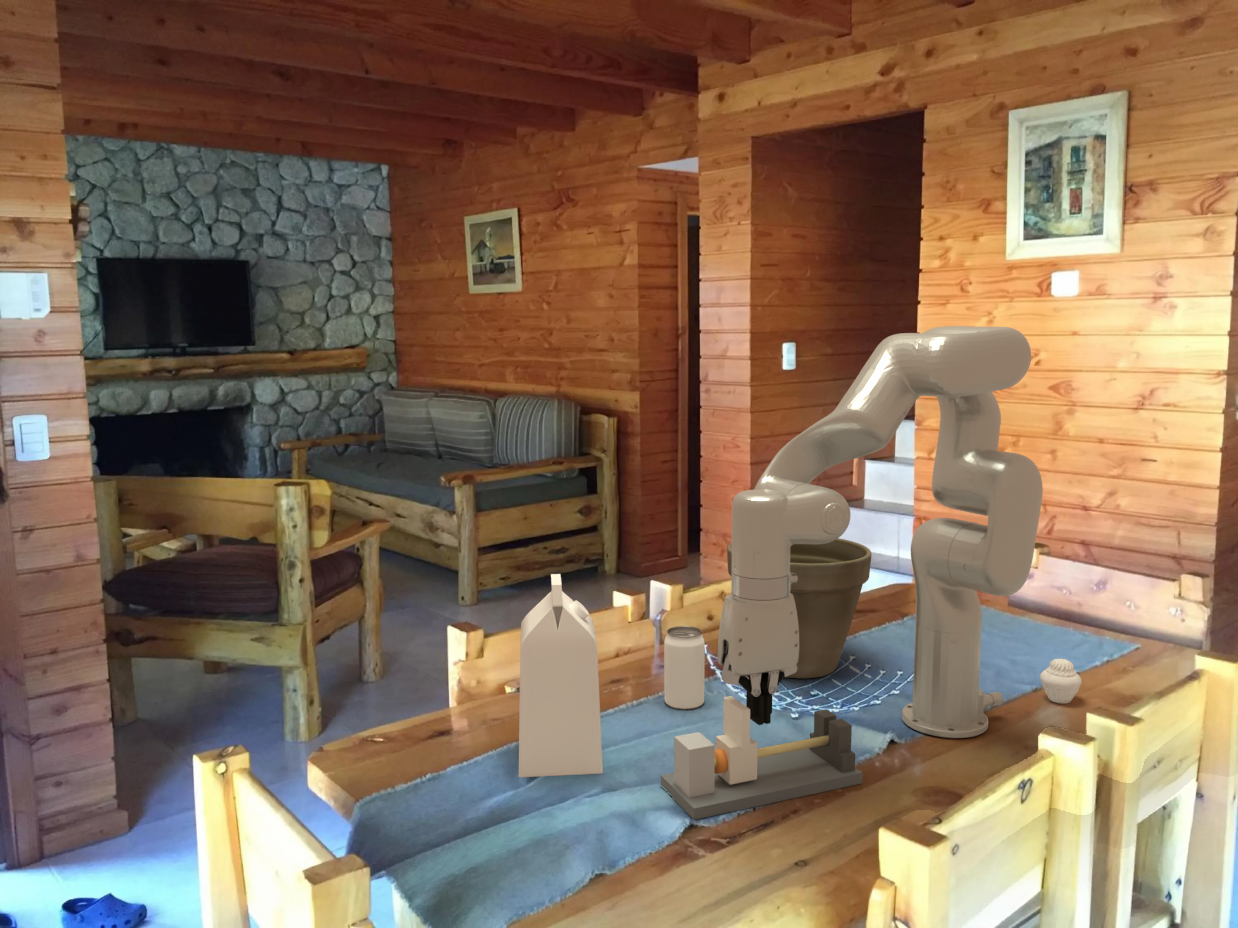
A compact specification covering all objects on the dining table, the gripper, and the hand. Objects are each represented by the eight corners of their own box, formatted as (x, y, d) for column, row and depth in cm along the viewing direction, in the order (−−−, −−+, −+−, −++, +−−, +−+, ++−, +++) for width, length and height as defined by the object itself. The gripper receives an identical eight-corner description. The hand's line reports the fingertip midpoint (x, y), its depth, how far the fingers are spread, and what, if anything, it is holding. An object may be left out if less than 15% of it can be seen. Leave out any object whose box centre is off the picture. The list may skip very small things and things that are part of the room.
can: (701, 711, 160) (702, 638, 158) (661, 708, 161) (661, 636, 159) (706, 696, 166) (706, 626, 164) (667, 693, 167) (667, 624, 166)
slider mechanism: (820, 753, 144) (821, 700, 143) (862, 783, 135) (863, 727, 134) (660, 785, 135) (660, 729, 134) (693, 819, 126) (693, 759, 125)
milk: (519, 740, 150) (515, 569, 146) (597, 737, 151) (594, 567, 147) (518, 777, 138) (513, 592, 134) (602, 773, 139) (600, 589, 135)
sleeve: (740, 765, 136) (740, 694, 135) (758, 780, 132) (759, 707, 130) (713, 770, 135) (714, 698, 133) (731, 786, 130) (732, 712, 129)
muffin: (1086, 699, 163) (1088, 657, 162) (1072, 710, 159) (1074, 667, 158) (1047, 689, 167) (1049, 649, 166) (1032, 700, 163) (1034, 658, 162)
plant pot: (823, 636, 196) (825, 527, 193) (896, 679, 173) (900, 556, 170) (704, 651, 188) (704, 537, 185) (764, 698, 165) (765, 569, 162)
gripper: (795, 572, 137) (793, 702, 140) (695, 584, 131) (695, 719, 134) (826, 586, 130) (823, 722, 133) (722, 599, 125) (722, 740, 127)
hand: (759, 720), depth 133 cm, fingers closed
